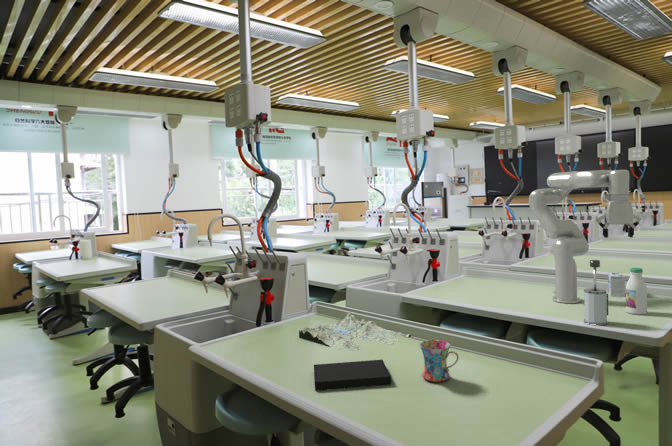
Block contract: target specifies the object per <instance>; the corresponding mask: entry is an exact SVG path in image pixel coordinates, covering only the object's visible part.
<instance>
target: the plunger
mask: <svg viewBox="0 0 672 446" xmlns="http://www.w3.org/2000/svg"><path fill="white" fill-rule="evenodd" d="M589 267H590V268H593V288H594V291H597V283H598V282H597V268H600V267H601V260H600V259H590V260H589Z"/></svg>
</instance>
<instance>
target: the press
mask: <svg viewBox="0 0 672 446" xmlns="http://www.w3.org/2000/svg"><path fill="white" fill-rule="evenodd" d="M583 292H584V293H583V294H584V295H583V299H584V300H583V302H584V303H583V304H584V305H583V306H584V310H583V312H584V319H583V323H584V324H586V323H589V324H588V325H590V324H596V325H603V326H607V325H608V316H609V293H608V292H607V290H606V289H603V288H597V291H594V287H593V288H591V287H589V288H584V289H583ZM596 325H595V326H596Z"/></svg>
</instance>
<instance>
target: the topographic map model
mask: <svg viewBox="0 0 672 446" xmlns="http://www.w3.org/2000/svg"><path fill="white" fill-rule="evenodd" d="M396 336H399V337H400V336H405V337H406V339H407V338H409V337H411V336H412V334H410V333H408V334H404V333H403V332H400V331H399V332H397V331H394V330H391V329H390V330H389V329H386V328H383V327H382V326H381V327H380V326H379V325H378V324H377V323H376V322H375V321H373V320H368V321H367V320H366V318H362V319H361V321H360V320H359V319H357V318H356V316H355V315H354V314H353V315H352V314H351V313H350V312H348V313H346V316H345V317H344V318H343V319H342V320H336V321H334V323H333V324H331V325H330V324H318V326H317V325H316V327H314V328H311V327H310V328H309V327H304V328H301V329H299V331H298V338H299V339H301V340H306V341H309V342H312V343H316V344H319V345H322V346H326V347H329V348H332V347H333V345H337V346H338V347H337V348H338V349H337V350H338V351H339V350H341V351H342V350H348V349H350V350H349V352H354V351H359V350H361V348H360V347H362V345H359V342H360V341H359V340H361V341H362V340H364V341H367V342H369V341H373V340H374V341H375V342H378V343H381V344H386V345H387V346H391V345H395V343H394V342H396V341H398V342H400V341H401V339H400V338H396ZM357 337H358V338H357ZM355 338H356V339H358V340H355Z"/></svg>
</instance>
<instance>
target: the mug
mask: <svg viewBox="0 0 672 446" xmlns="http://www.w3.org/2000/svg"><path fill="white" fill-rule="evenodd" d="M419 347H420V350H421V352H422V357H423V360H424V361H423V362H424V366H423V370H422V374H421V377H422V378H423V379H425V380H427V381H430V382H439V383H440V382H445V381H447V380H448V379H449V378H450V377H451V375H450V373H449V372H450V370H449V369H450V368H452V367H454V366H455V365H456V364H457V363H458V361H459V358H460V357H459V354H458V353H457V352H456V351H452V350H451V351H449V350H450V348H451V344H450V343H449V342H447V341H446V340H441V339H428V340H423V341H421V342H420V343H419ZM449 354H454V355H455V356H456V360H455V362H454V363H453V364H452V365H449V366H447V364H448V363H447V359H448V357H449Z"/></svg>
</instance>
